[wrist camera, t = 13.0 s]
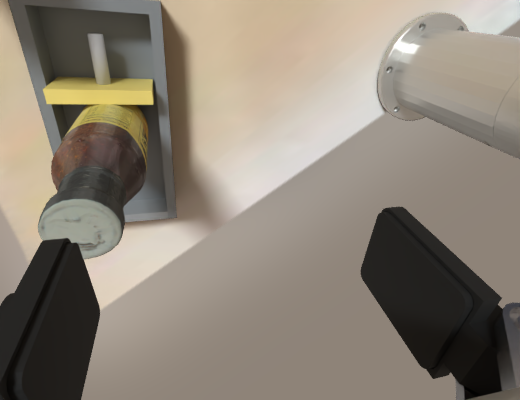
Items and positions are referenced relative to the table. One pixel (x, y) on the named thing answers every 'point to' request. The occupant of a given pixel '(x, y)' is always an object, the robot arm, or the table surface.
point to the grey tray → (120, 66)
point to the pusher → (99, 84)
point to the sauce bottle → (96, 177)
